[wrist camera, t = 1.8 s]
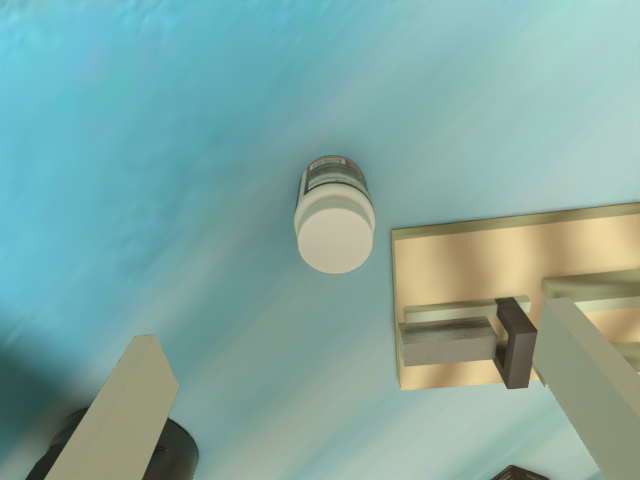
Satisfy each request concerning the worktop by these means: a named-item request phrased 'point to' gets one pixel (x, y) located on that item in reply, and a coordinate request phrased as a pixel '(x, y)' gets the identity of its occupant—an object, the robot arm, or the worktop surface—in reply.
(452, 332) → the pin
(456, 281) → the mount
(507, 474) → the box
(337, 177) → the pill bottle
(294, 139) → the worktop surface
